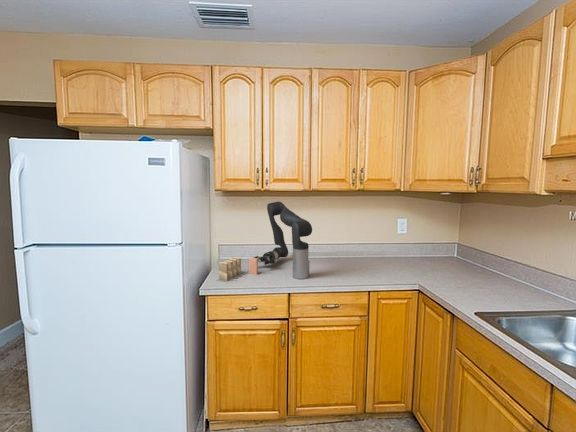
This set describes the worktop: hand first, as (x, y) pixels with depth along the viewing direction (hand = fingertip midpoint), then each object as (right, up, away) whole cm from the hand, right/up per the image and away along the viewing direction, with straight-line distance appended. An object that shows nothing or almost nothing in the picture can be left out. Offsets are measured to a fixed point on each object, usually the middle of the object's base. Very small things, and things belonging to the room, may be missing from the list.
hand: (258, 262), depth 206 cm
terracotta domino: (-3, -7, -6) cm, 9 cm away
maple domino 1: (-18, -7, -19) cm, 27 cm away
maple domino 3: (-14, -7, -10) cm, 19 cm away
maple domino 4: (-13, -6, -6) cm, 15 cm away
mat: (-14, -7, -10) cm, 19 cm away
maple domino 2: (-16, -7, -15) cm, 23 cm away
